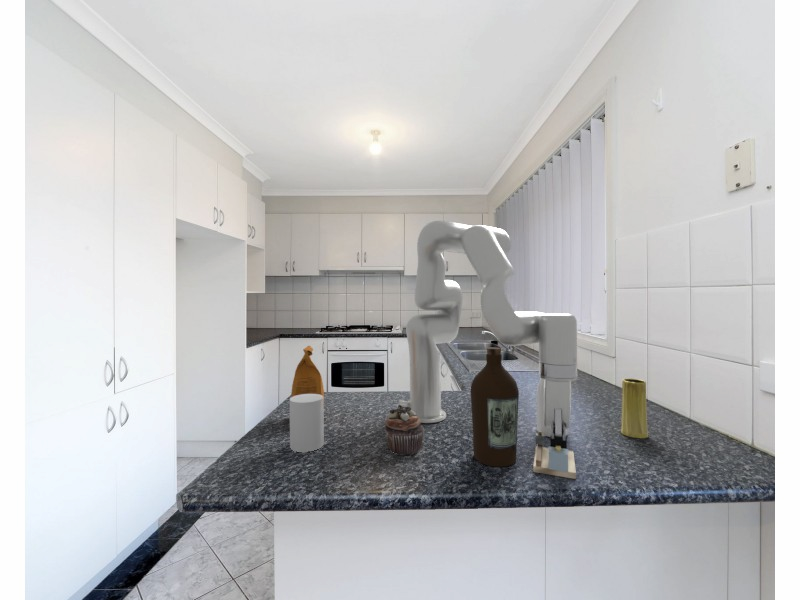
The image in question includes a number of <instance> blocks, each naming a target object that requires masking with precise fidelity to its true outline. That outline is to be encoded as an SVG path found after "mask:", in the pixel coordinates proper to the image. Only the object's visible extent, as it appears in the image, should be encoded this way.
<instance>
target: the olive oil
mask: <svg viewBox="0 0 800 600" xmlns="http://www.w3.org/2000/svg"><path fill="white" fill-rule="evenodd" d="M501 352H502V348H500V347H495V346H493V347H491V346H490V347H486V360H485V361H486V364H485V365H484V367H482V369H480V371H479V372H478V373H477V374H476V375H475V376H474V377H473V379H472V381H471V385H470V403H471V404H470V405H471V421H472V441H473V442H472V443H473V458H474V459H475V460H476V461H477V462H479V463H480V464H483V465H486V466H489V467H496V468H497V467H499V468H501V467H502V468H503V467H504V468H505V467H509V466H512V465H514V464H515V463H516V462H517V447H518V446H517V444H518V421H519V420H518V418H519V417H518V416H519V415H518V413H519V398H520V397H519V396H520V395H519V394H520V392H519V386H518V384H517V382H516V379H515V378H514V377H513V376H512V375H511V374H510V373H509V371H508V370H507V369H506V368H505V367H504V366H503V363H502V357H503V356H502V353H501Z"/></svg>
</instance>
